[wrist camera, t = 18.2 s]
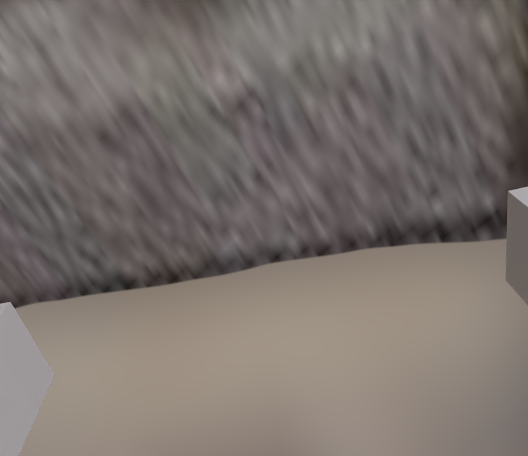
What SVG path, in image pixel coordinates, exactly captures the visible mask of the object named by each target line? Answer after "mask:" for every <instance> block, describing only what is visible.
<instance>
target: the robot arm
mask: <svg viewBox="0 0 528 456" xmlns="http://www.w3.org/2000/svg"><path fill="white" fill-rule="evenodd" d="M506 281H507V282H508V283H509V284H510V285H511V287H513V289H514V290H515V291H516V292H517V293H518V294H519V296H520V297H521V298H522V299H523V300H524V301H525V303H526V304H527V305H528V187H525V188H520V189H516V190H511V191H508V211H507V253H506ZM54 376H55V375H54V374H53V372H52V370H51V369H50V367H49V365H48V364H47V362H46V360H45V359H44V357H43V355H42V354H41V352H40V350H39V349H38V347H37V345H36V344H35V342H34V340H33V339H32V337H31V335H30V334H29V332H28V330H27V329H26V327H25V325H24V324H23V322H22V321H21V319H20V317H19V316H18V314H17V312H16V311H15V309H14V307H13V306H12V304H11V302H7V303H3V304H0V456H19V454H20V452H21V450H22V447H23V445H24V443H25V440H26V438H27V436H28V434H29V432H30V429H31V427H32V425H33V423H34V421H35V418H36V416H37V414H38V412H39V409H40V407H41V405H42V403H43V401H44V398H45V396H46V394H47V392H48V389H49V387H50V385H51V383H52V381H53V378H54Z"/></svg>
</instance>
